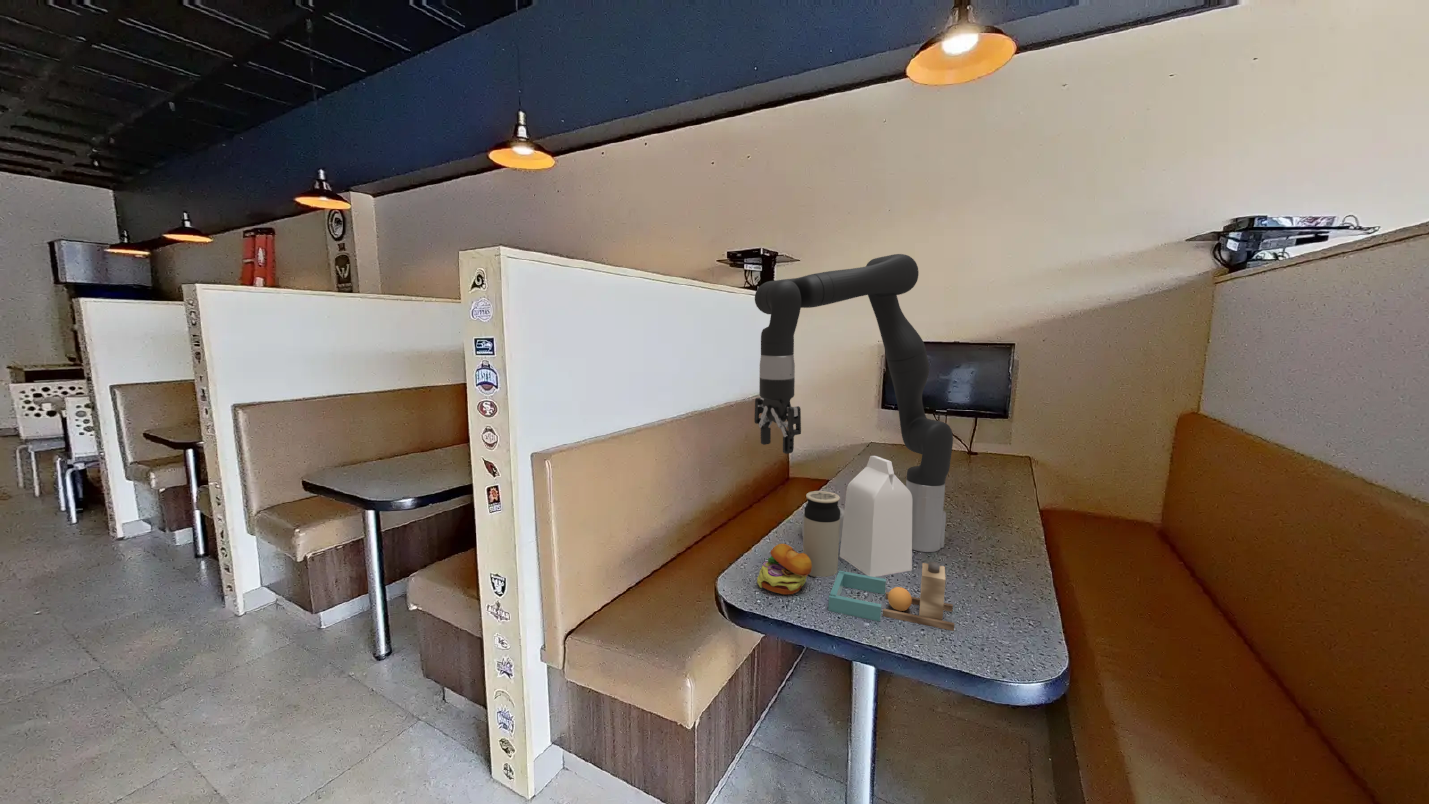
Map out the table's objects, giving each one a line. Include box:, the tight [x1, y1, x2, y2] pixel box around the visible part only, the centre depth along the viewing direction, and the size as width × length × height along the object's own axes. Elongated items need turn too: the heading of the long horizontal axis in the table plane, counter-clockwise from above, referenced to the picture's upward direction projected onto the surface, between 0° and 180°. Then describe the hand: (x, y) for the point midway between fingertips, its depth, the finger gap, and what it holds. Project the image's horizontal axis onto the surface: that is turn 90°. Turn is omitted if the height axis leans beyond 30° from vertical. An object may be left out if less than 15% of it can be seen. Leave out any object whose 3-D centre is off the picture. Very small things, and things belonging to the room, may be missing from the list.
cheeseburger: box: [756, 543, 812, 595], centre depth 112 cm, size 10×11×10 cm
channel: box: [882, 591, 955, 632], centre depth 101 cm, size 12×8×1 cm, turn 68°
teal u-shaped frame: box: [827, 570, 887, 622], centre depth 105 cm, size 10×12×4 cm
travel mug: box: [802, 490, 841, 578], centre depth 118 cm, size 8×8×18 cm
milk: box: [839, 455, 913, 578], centre depth 121 cm, size 12×12×26 cm
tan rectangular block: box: [918, 561, 947, 621], centre depth 99 cm, size 4×6×10 cm, turn 158°
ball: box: [887, 586, 912, 612], centre depth 102 cm, size 4×4×4 cm
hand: (776, 448), depth 115 cm, fingers open, 8 cm apart
